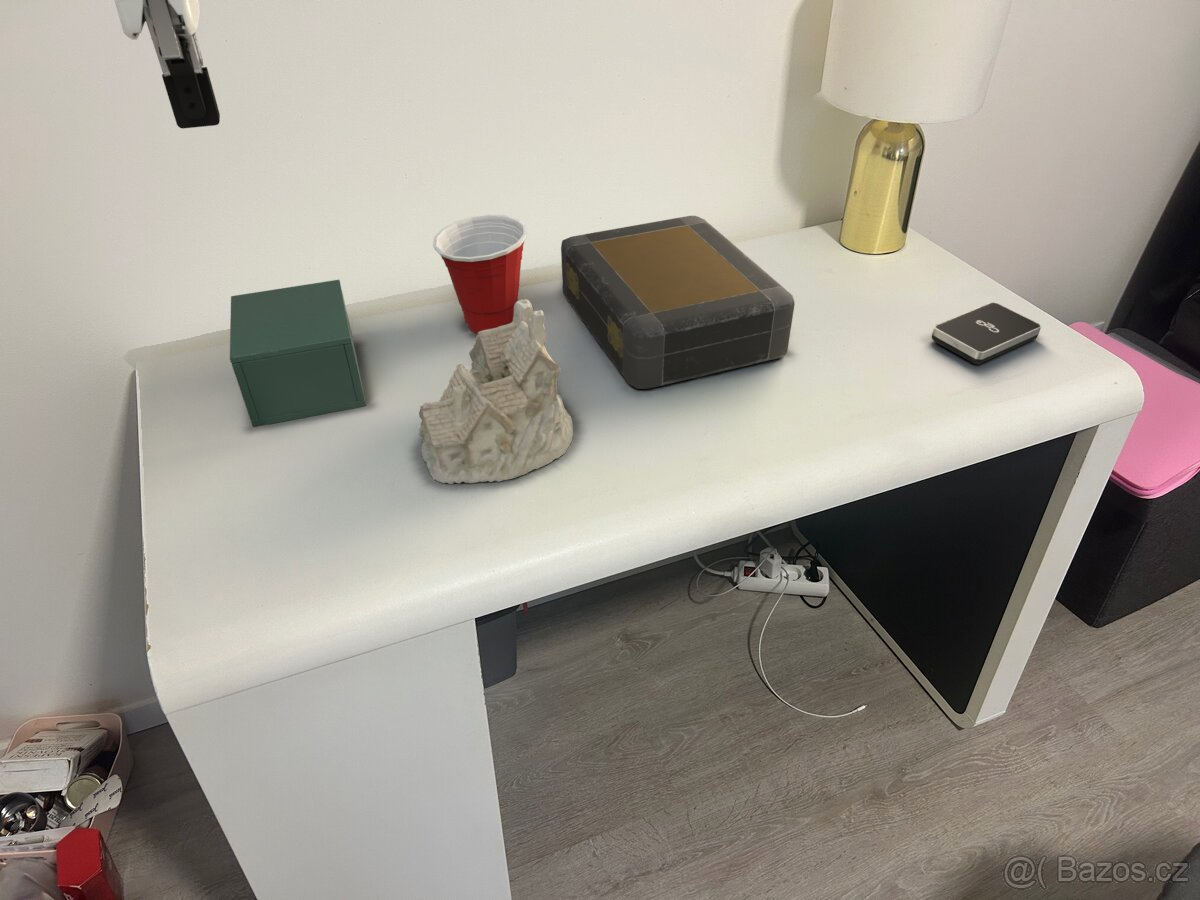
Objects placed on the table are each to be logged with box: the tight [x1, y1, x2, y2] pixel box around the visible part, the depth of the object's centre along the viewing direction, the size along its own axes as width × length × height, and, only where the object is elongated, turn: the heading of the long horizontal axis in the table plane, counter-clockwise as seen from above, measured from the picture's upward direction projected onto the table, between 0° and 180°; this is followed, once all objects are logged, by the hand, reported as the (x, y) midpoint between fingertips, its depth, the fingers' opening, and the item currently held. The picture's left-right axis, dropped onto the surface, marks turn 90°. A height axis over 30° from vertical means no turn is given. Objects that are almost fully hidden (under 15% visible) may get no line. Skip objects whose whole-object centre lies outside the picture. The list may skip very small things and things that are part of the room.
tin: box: [231, 292, 367, 428], centre depth 91 cm, size 13×12×8 cm
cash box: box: [560, 215, 796, 390], centre depth 101 cm, size 25×20×8 cm
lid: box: [229, 279, 352, 365], centre depth 89 cm, size 13×12×1 cm
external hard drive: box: [931, 301, 1042, 365], centre depth 99 cm, size 7×11×2 cm, turn 122°
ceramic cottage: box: [418, 298, 574, 485], centre depth 82 cm, size 16×16×15 cm
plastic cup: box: [432, 214, 528, 335], centre depth 100 cm, size 11×11×12 cm
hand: (199, 123), depth 68 cm, fingers closed
